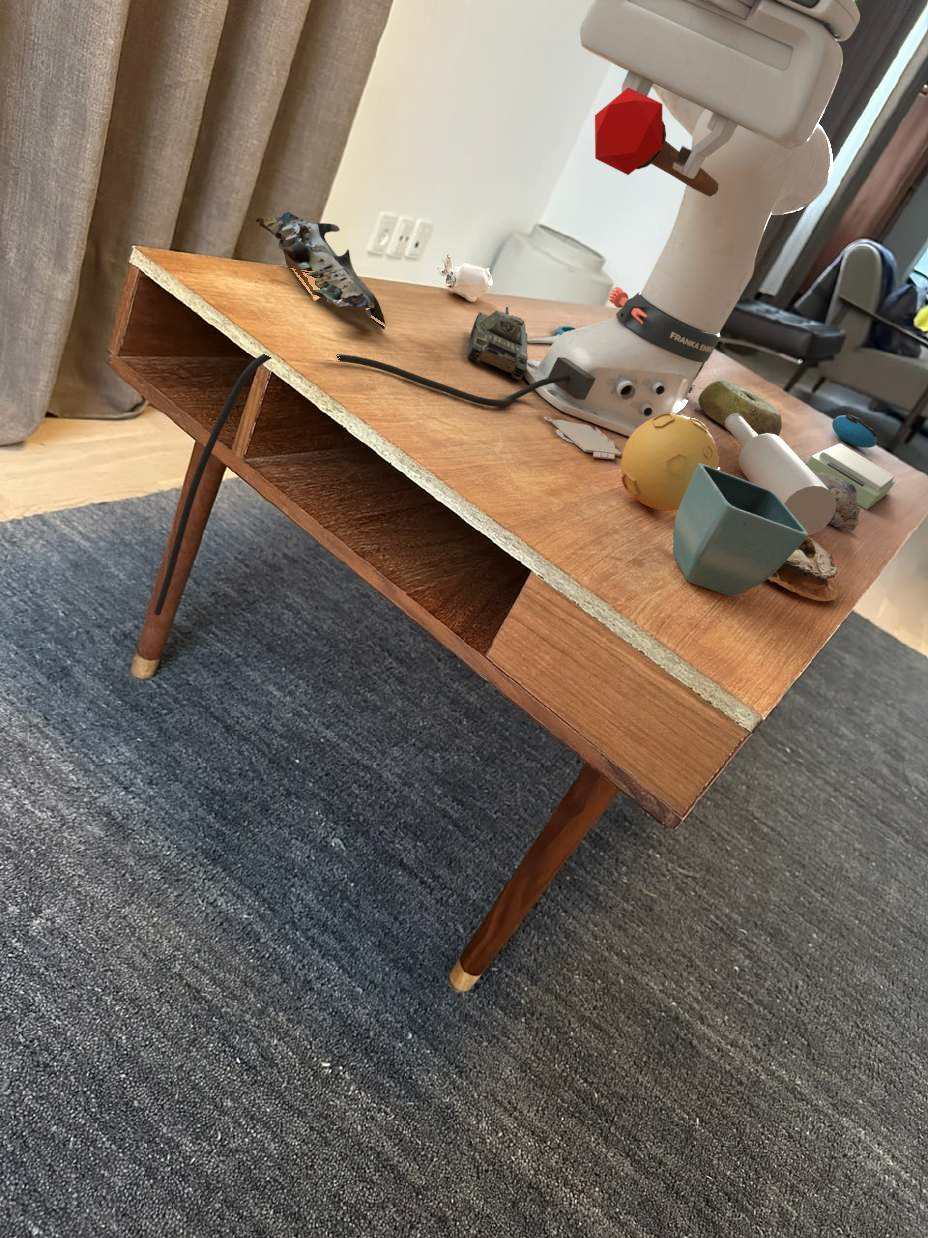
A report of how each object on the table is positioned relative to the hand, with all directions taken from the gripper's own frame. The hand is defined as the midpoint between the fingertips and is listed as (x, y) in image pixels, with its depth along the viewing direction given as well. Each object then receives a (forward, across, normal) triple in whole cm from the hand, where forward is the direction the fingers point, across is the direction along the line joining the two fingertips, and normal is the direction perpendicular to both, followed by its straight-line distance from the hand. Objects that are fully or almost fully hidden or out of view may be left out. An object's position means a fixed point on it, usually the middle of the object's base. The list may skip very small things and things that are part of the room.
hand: (653, 158), depth 73 cm
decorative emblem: (+29, +2, +24) cm, 38 cm away
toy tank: (+29, -22, +29) cm, 47 cm away
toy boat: (+34, -39, +17) cm, 54 cm away
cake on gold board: (+32, +23, +18) cm, 43 cm away
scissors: (+28, -26, +63) cm, 74 cm away
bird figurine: (+26, -41, +40) cm, 63 cm away
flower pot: (+29, +20, +8) cm, 36 cm away
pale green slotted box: (+29, +18, +77) cm, 84 cm away
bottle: (+26, +21, +36) cm, 49 cm away
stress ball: (+29, +9, +16) cm, 35 cm away
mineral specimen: (+30, +20, +51) cm, 63 cm away
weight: (+29, 0, +69) cm, 75 cm away
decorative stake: (0, -3, +21) cm, 21 cm away
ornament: (+26, +9, +103) cm, 107 cm away
